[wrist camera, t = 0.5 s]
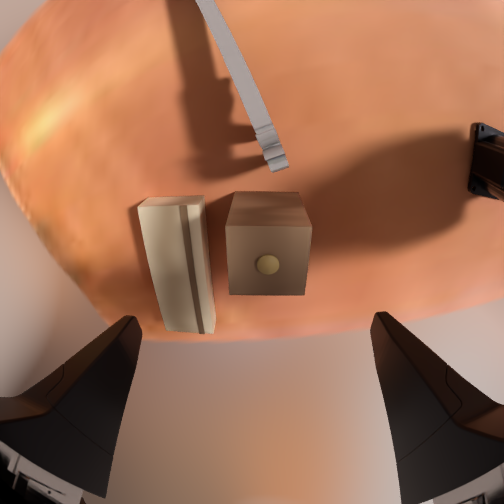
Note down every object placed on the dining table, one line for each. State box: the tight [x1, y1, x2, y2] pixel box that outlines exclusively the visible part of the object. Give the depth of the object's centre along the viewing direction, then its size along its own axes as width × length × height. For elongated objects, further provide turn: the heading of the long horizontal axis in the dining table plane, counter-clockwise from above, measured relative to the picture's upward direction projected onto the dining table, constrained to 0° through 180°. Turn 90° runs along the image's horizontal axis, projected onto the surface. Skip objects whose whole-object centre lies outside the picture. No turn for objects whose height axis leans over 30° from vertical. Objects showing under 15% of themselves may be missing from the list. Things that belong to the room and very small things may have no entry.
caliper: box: [195, 0, 289, 173], centre depth 11 cm, size 20×1×6 cm, turn 22°
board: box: [137, 195, 216, 334], centre depth 22 cm, size 4×12×2 cm, turn 0°
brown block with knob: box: [225, 191, 312, 295], centre depth 18 cm, size 4×4×6 cm
